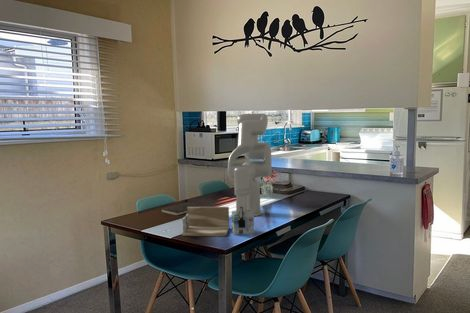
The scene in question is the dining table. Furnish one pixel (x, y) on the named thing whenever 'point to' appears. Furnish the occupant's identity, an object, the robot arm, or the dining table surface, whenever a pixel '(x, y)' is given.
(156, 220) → the dining table surface
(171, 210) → the hardcover book
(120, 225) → the dining table surface
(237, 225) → the light bulb box
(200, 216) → the shelf
